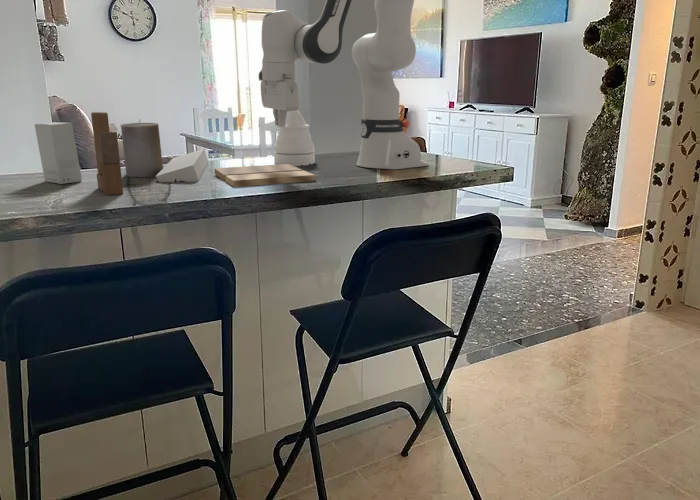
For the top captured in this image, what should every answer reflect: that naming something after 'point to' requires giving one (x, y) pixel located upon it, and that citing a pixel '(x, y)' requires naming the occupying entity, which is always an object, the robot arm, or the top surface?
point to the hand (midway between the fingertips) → (280, 126)
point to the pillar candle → (142, 149)
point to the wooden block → (106, 155)
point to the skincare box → (58, 152)
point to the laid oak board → (269, 178)
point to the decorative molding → (184, 168)
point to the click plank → (254, 170)
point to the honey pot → (294, 142)
